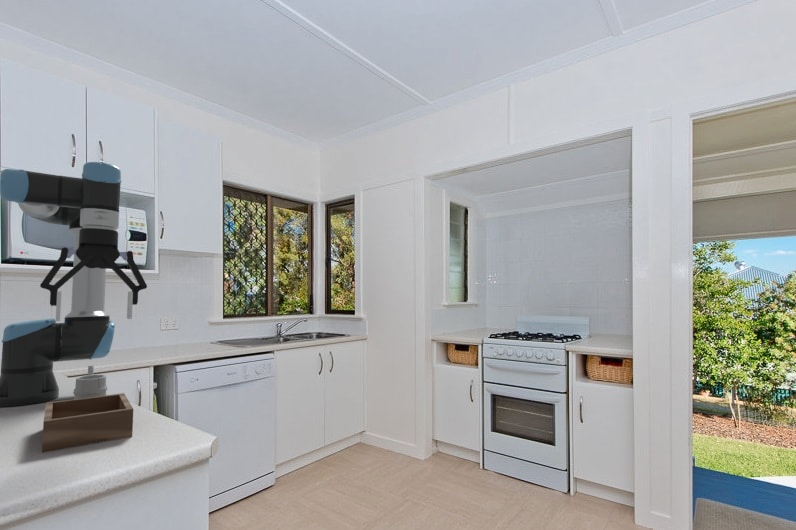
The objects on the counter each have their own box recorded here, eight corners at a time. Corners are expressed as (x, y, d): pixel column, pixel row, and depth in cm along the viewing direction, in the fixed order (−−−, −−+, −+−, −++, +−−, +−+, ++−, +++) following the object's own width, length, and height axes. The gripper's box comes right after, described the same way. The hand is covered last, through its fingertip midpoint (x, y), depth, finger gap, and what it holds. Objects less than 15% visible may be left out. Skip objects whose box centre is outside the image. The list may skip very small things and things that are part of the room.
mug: (70, 422, 105) (73, 372, 105) (70, 411, 114) (73, 365, 115) (108, 416, 109) (110, 369, 110) (105, 406, 119) (107, 363, 119)
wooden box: (44, 428, 99) (46, 402, 100) (123, 417, 109) (124, 393, 109) (41, 452, 85) (43, 421, 85) (132, 436, 94) (133, 408, 95)
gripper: (28, 221, 90) (22, 322, 89) (161, 232, 105) (158, 318, 104) (30, 225, 96) (25, 320, 95) (156, 235, 111) (153, 316, 110)
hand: (95, 319), depth 99 cm, fingers open, 13 cm apart
